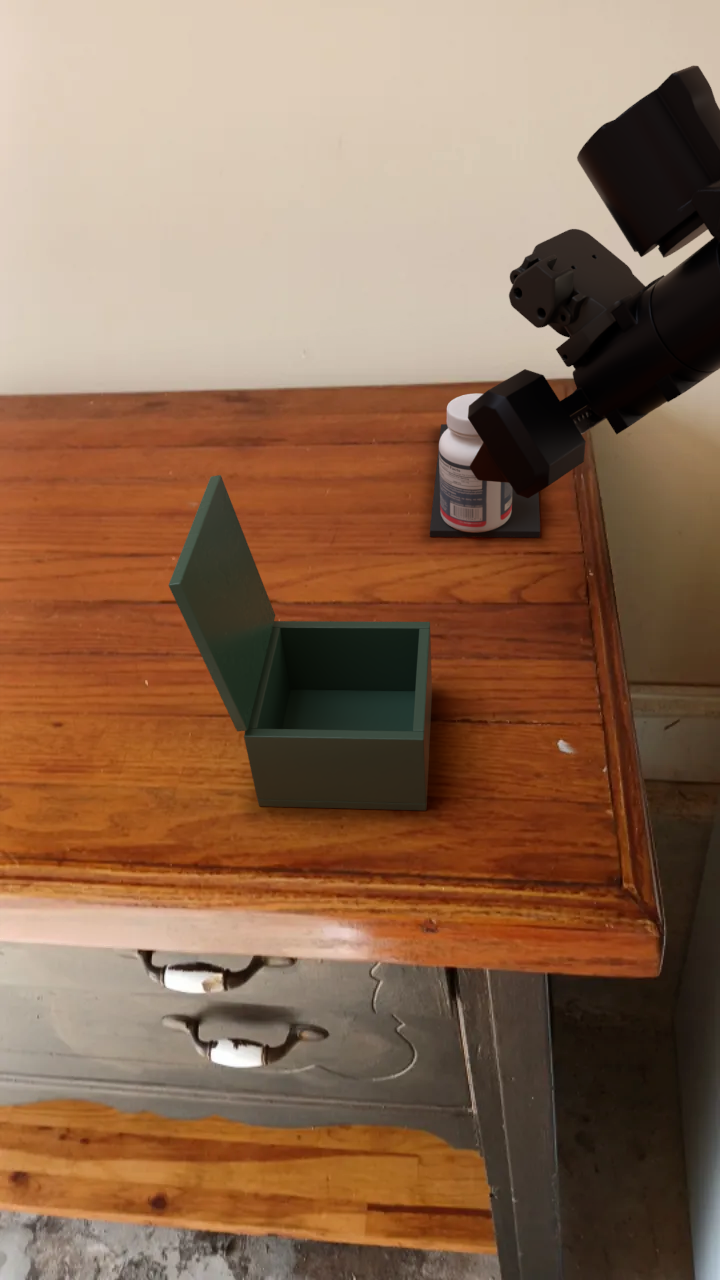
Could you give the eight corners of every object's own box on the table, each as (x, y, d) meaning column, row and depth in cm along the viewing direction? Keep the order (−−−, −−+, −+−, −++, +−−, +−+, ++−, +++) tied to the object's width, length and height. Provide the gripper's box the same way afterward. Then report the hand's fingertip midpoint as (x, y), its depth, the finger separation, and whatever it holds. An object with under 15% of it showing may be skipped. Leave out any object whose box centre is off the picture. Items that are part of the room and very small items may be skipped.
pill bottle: (488, 488, 74) (490, 381, 68) (524, 521, 70) (530, 411, 64) (427, 507, 72) (424, 400, 67) (461, 542, 69) (461, 431, 63)
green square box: (432, 691, 58) (430, 621, 55) (426, 811, 51) (423, 739, 48) (283, 689, 59) (271, 620, 56) (258, 806, 52) (243, 736, 49)
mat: (539, 538, 70) (540, 531, 69) (429, 537, 71) (429, 530, 70) (535, 429, 81) (535, 423, 81) (441, 430, 83) (440, 424, 82)
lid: (220, 474, 49) (210, 476, 49) (179, 583, 42) (167, 585, 43) (275, 615, 55) (266, 616, 55) (247, 731, 48) (236, 732, 49)
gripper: (703, 151, 55) (539, 298, 69) (498, 245, 46) (355, 394, 59) (804, 315, 56) (622, 429, 69) (622, 441, 46) (452, 545, 60)
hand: (519, 444), depth 64 cm, fingers open, 9 cm apart
